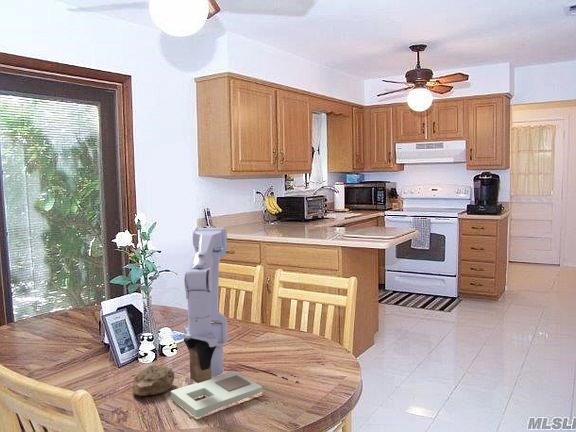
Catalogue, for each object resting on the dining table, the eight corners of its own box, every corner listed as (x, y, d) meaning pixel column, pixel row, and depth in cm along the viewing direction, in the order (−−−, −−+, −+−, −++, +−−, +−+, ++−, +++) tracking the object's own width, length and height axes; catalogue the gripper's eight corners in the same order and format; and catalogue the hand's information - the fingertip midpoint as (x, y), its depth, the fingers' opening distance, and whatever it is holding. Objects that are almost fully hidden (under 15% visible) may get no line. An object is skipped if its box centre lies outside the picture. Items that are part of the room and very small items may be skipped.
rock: (154, 403, 126) (153, 385, 126) (122, 396, 130) (121, 378, 130) (184, 383, 138) (183, 366, 138) (153, 378, 142) (152, 361, 142)
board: (170, 400, 128) (170, 389, 127) (234, 379, 140) (234, 370, 140) (196, 420, 117) (196, 409, 117) (262, 395, 129) (262, 385, 129)
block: (190, 378, 125) (189, 348, 125) (203, 374, 128) (202, 345, 127) (197, 383, 122) (196, 352, 122) (211, 378, 125) (210, 349, 124)
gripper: (172, 312, 127) (174, 362, 128) (199, 324, 116) (200, 379, 117) (196, 307, 131) (198, 355, 132) (224, 319, 120) (225, 371, 121)
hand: (200, 366), depth 125 cm, fingers closed on block, 4 cm apart
